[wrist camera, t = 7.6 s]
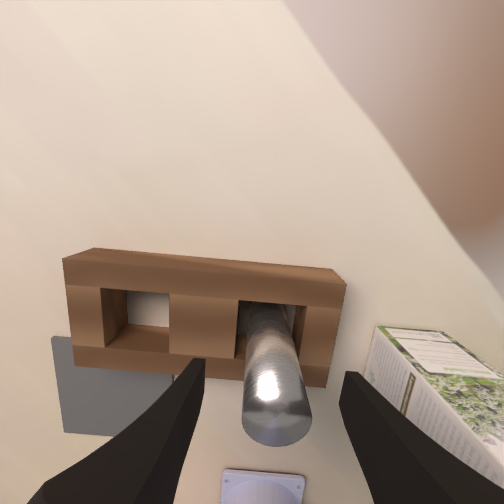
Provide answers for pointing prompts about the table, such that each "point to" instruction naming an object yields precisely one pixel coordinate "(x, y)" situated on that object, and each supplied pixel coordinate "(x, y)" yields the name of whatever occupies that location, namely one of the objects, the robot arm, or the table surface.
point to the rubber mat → (102, 393)
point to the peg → (273, 380)
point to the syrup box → (442, 393)
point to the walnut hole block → (194, 311)
